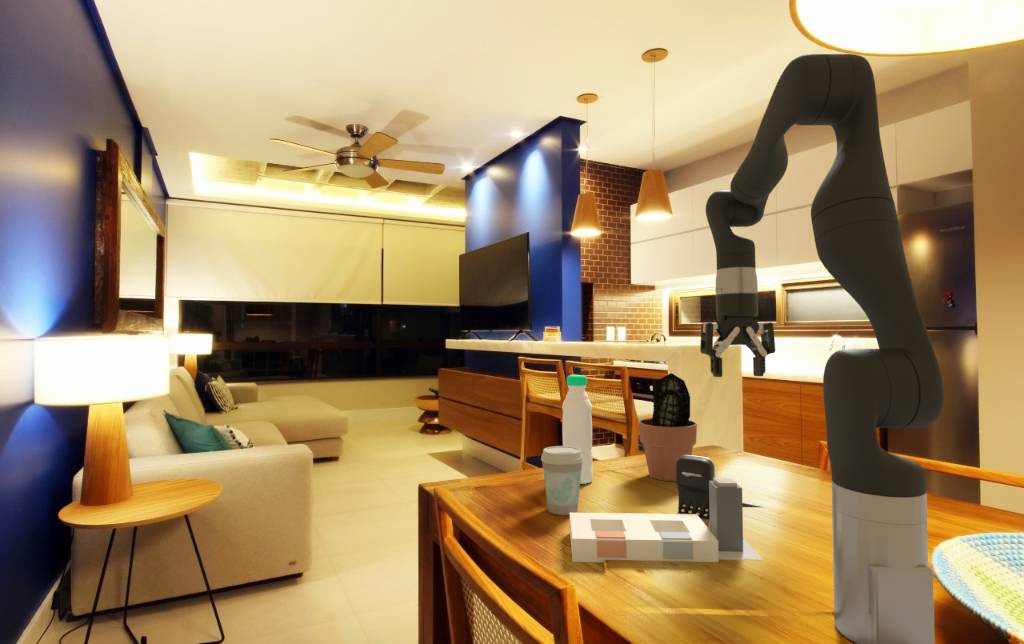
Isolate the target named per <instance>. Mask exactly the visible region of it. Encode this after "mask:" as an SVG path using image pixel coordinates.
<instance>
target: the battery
mask: <svg viewBox="0 0 1024 644" xmlns="http://www.w3.org/2000/svg"><path fill="white" fill-rule="evenodd" d="M716 475H717V474H716V466H715V463H714V461H713V460H712V459H711V458H709V457H706V456H700V455H699V456H698V455H693V454H691V455H683V456H681V457H680V458H679V459H678V460H677V462H676V481H675V484H676V485H677V492H678V504H677V505H678V507H677V512H678V513H677V514H697V515H698V516H699V517H700V519H701V520H702V519H703V520H710V516H709V481H714V478H717V477H716Z"/></svg>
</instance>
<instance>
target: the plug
mask: <svg viewBox="0 0 1024 644" xmlns="http://www.w3.org/2000/svg"><path fill="white" fill-rule="evenodd" d="M742 503H743V487H742V486H740V485H739V484H738V483H737V481H735V480H733V478H727V477H725V478H724V477H723V478H722V477H721V478H720V477H718V478H717V477H716V478H714V481H709V516H710V519H709V530H710V531H711V533H712V534H713V535H714V536H715V538H716V539H717V540H718V551H737V552H743V538H744V530H743V529H744V526H743V525H744V524H743V522H744V521H743V519H744V518H743V517H744V516H743V507H742Z"/></svg>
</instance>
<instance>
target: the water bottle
mask: <svg viewBox="0 0 1024 644" xmlns="http://www.w3.org/2000/svg"><path fill="white" fill-rule="evenodd" d="M587 379H588V378H587V376H586V375H582V374H571V375H568V376H567V377H566V386H567V388H568V391H567V393H566V395H565V399H564V400H563V402H562V406H561V408H562V428H561V429H562V446H570V447H576V448H579V449H580V450H581V452H582V455H583V459H584V461H583V462H582V469H581V480H580V484H582V485H588V484H591V482H592V481H593V480H594V471H593V460H594V459H593V457H594V455H593V451H592V450H593V448H592V447H593V417H592V410H593V405H592V402H591V400H590V399H589V396H588V393H587V391H586V388H587V384H588V380H587ZM587 483H588V484H587Z"/></svg>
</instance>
